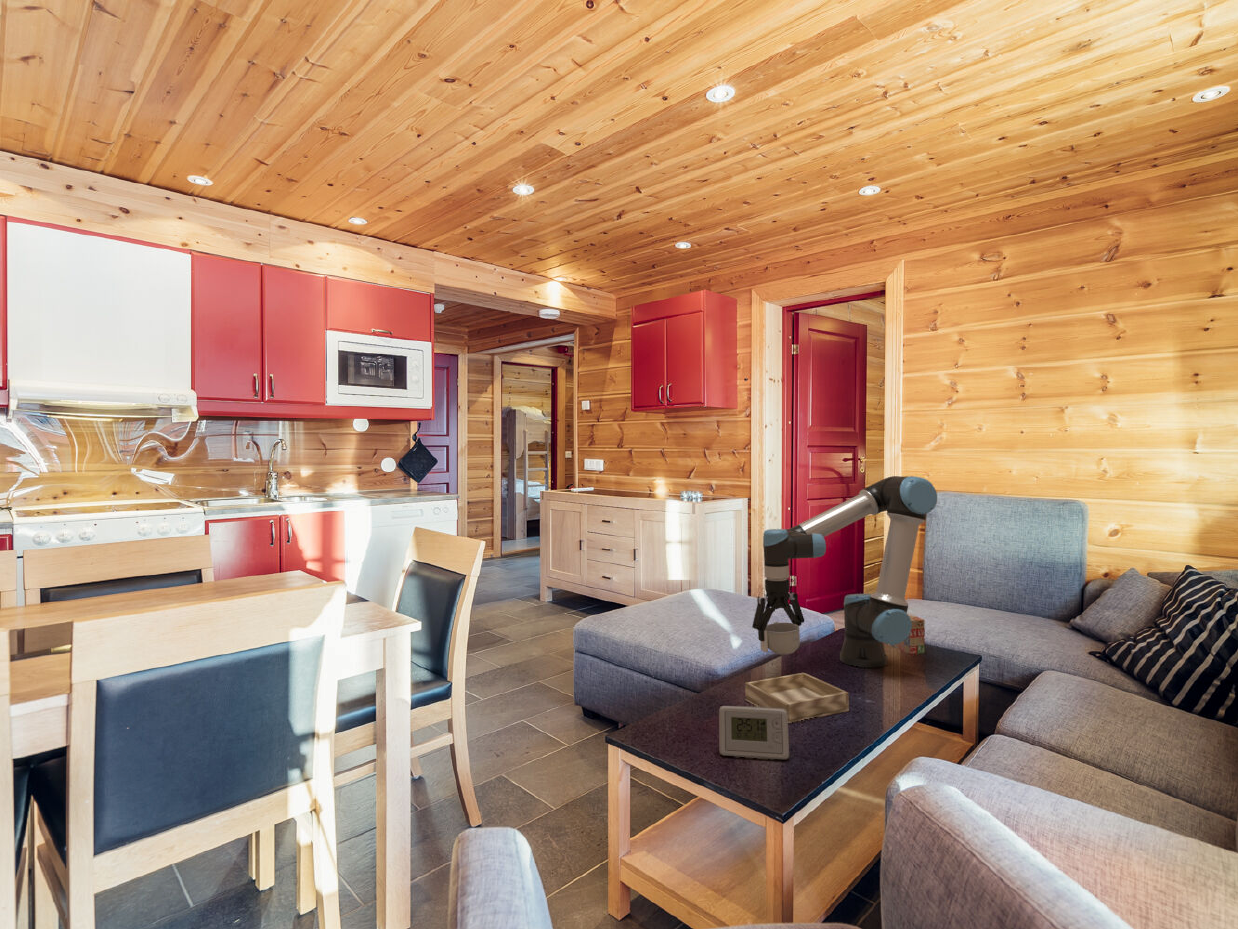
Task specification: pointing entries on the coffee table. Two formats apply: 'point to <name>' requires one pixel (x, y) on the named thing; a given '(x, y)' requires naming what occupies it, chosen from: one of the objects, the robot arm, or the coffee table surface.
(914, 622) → the stack of blocks
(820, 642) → the coffee table surface
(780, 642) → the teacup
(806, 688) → the walled box
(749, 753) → the digital clock
